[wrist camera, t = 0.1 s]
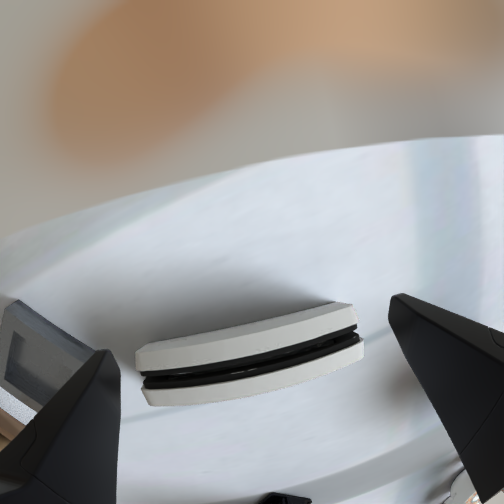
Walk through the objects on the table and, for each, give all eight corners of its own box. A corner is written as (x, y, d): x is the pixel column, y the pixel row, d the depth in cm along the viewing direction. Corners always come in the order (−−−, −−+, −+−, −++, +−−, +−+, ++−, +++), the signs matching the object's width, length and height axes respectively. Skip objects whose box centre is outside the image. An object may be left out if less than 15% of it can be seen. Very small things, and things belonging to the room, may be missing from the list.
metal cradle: (74, 416, 26) (67, 430, 23) (3, 368, 24) (-8, 379, 21) (100, 353, 25) (91, 367, 22) (18, 299, 23) (4, 308, 20)
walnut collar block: (39, 473, 27) (34, 485, 24) (-16, 436, 25) (-23, 446, 22) (48, 440, 26) (41, 453, 23) (-15, 396, 24) (-24, 407, 21)
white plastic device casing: (162, 391, 26) (129, 432, 16) (150, 341, 27) (107, 359, 17) (343, 351, 27) (394, 372, 17) (333, 301, 28) (381, 299, 18)
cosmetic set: (459, 447, 35) (521, 517, 16) (497, 421, 35) (560, 478, 17) (432, 514, 40) (470, 569, 21) (466, 494, 40) (506, 543, 22)
